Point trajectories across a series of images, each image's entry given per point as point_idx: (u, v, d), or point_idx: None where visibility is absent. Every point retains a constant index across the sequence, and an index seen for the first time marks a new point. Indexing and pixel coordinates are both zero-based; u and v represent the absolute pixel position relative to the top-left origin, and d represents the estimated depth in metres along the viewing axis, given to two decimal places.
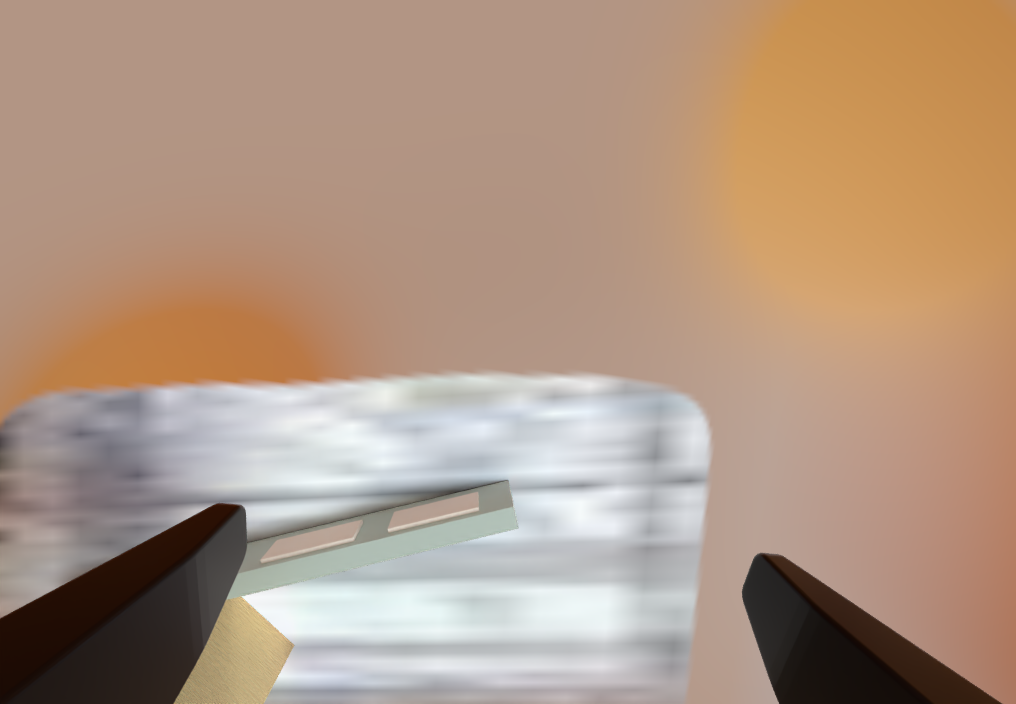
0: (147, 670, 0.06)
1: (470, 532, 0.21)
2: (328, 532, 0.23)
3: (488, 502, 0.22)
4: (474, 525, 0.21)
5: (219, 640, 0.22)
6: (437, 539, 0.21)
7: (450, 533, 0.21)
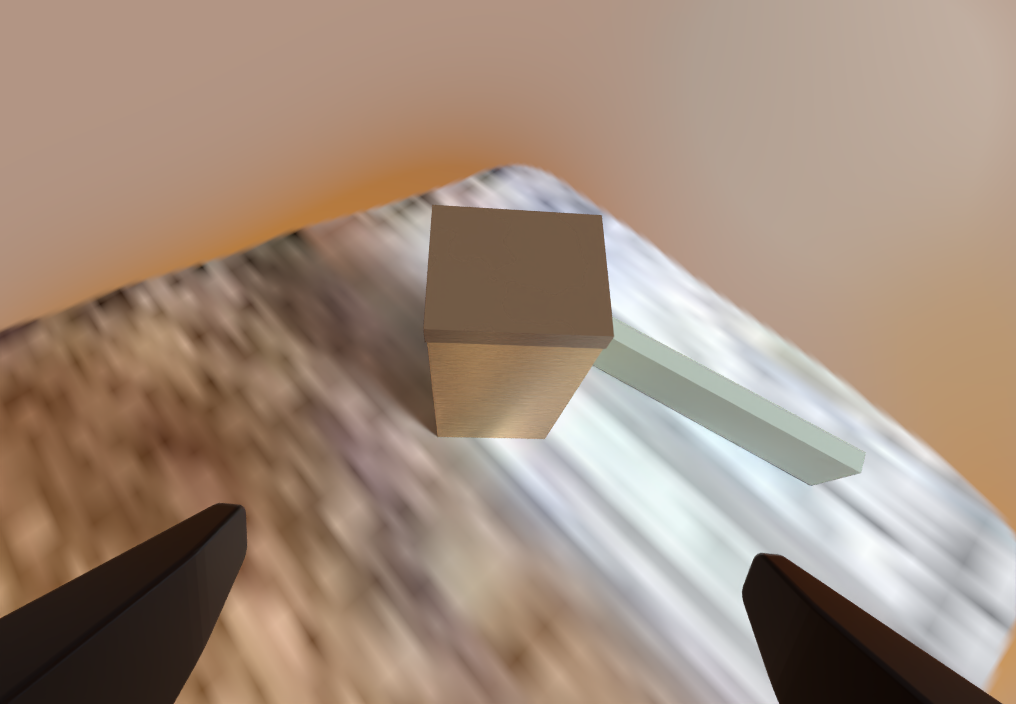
0: (147, 670, 0.06)
1: (817, 441, 0.21)
2: None
3: None
4: (824, 439, 0.21)
5: None
6: (785, 424, 0.22)
7: (799, 428, 0.22)
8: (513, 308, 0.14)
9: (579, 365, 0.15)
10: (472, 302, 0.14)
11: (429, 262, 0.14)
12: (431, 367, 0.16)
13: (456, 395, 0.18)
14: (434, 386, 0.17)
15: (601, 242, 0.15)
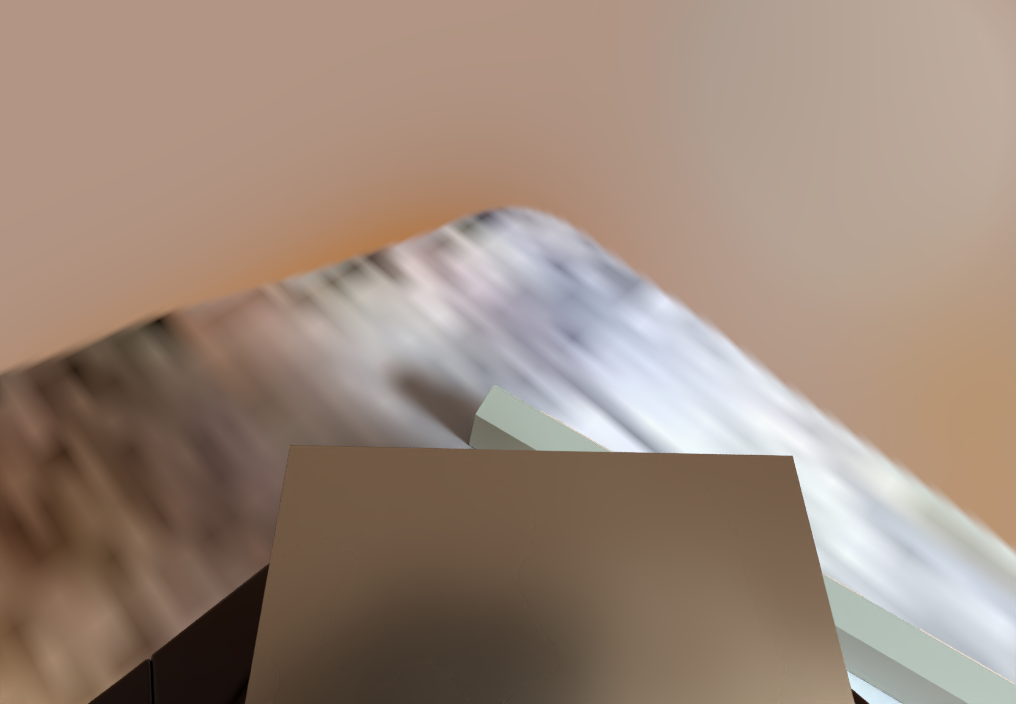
0: None
1: None
2: None
3: None
4: None
5: None
6: None
7: None
8: None
9: None
10: None
11: (250, 703, 0.04)
12: None
13: None
14: None
15: (811, 561, 0.05)
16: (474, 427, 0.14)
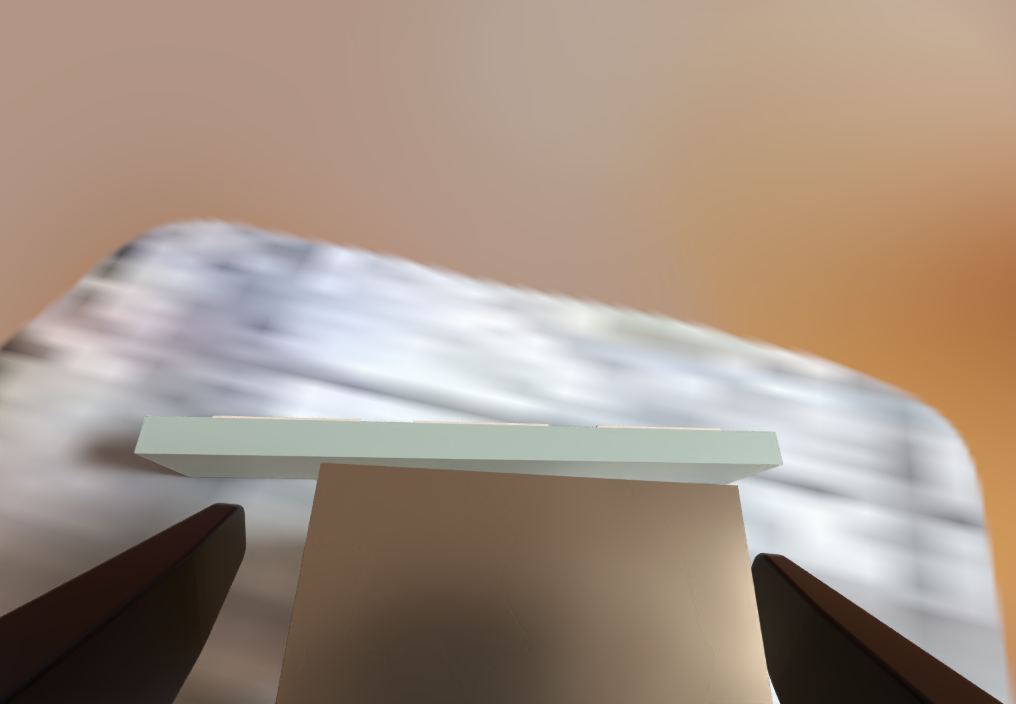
0: (145, 670, 0.06)
1: (717, 451, 0.15)
2: None
3: None
4: (723, 443, 0.15)
5: None
6: (670, 450, 0.15)
7: (689, 446, 0.15)
8: None
9: None
10: None
11: (286, 666, 0.05)
12: None
13: None
14: None
15: (745, 574, 0.06)
16: (158, 462, 0.14)
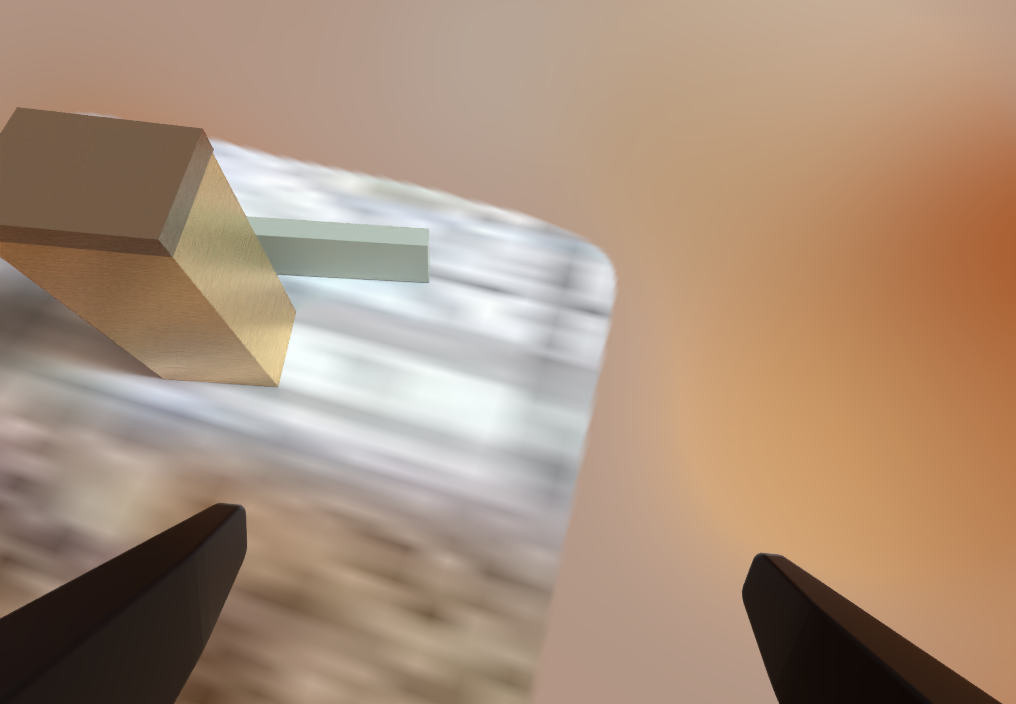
0: (147, 670, 0.06)
1: (384, 237, 0.24)
2: None
3: None
4: (389, 232, 0.24)
5: (276, 299, 0.22)
6: (353, 234, 0.23)
7: (366, 233, 0.24)
8: (59, 207, 0.13)
9: (179, 281, 0.15)
10: (13, 199, 0.13)
11: None
12: (29, 277, 0.15)
13: (106, 319, 0.18)
14: (67, 305, 0.17)
15: (188, 153, 0.15)
16: None
